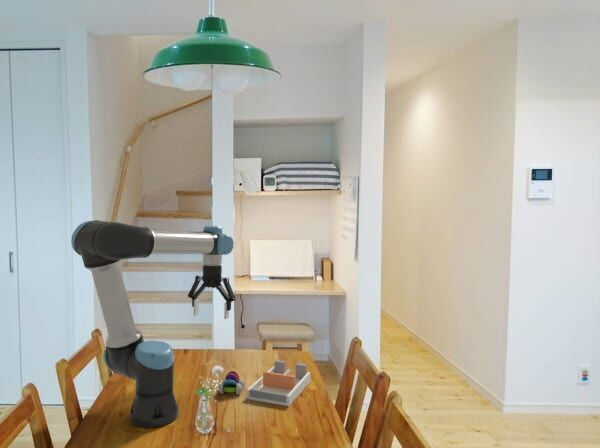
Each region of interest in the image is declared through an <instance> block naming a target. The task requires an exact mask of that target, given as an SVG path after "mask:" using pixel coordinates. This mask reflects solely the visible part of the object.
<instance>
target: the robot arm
mask: <svg viewBox="0 0 600 448" xmlns="http://www.w3.org/2000/svg"><path fill="white" fill-rule="evenodd" d="M234 244H235V243H234V239H233V238H232V236H231V235H229V234H225V233H223V227H221V226H219V225H218V226H217V225H205V226H203V230H202V231H169V230H167V231H166V230H165V231H163V230H152V229H151V228H150V227H148V226H137V225H131V224H127V223H123V222H119V221H118V222H117V221H105V220H97V219H95V220H87V221H84V222H82V223H80V224H78V226H77V227H76V228H75V229H74V231H73V233H72V235H71V246H72V250H73V251H74V252H75V253H77V255H78V256H81V259H82V262H83V266H84V268H85V269H87V270H89V271H90V272H91V275H92V279H93V282H94V283H93V284H94V286H95V290H96V294H97V297H98V300H99V304H100V308H101V312H102V316H103V319H104V323H105V327H106V330H107V335H108V337H107V339H106V341H105V350H104V351H103V362H104V365H105V366H106V368H108V369H109V370H110V371H112V372H113V373H115V374H117V375H121V376H122V377H124V378H128V379H131V380H133V381H135V396H134V399H133V402H132V405H131V408H130V411H129V422H130V423H131V424H132V425H133V426H136V427H140V428H157V427H161V426H166V425H168V424H170V423H172V422H174V421H175V420H176V419H177V418H178V417H179V414H180V413H179V411H180V410H179V404H178V403H177V398H176V396H175V392H174V372H175V371H174V366H175V364H174V363H175V357H174V349H173V347H172V346H171V345H170V344H169V343H167V342H165V341H162V340H147V341H145V340H144V336H143V332H142V331H141V330H140V329H138V328H136V324H135V321H134V317H133V313H132V309H131V304H130V301H129V297H128V293H127V289H126V286H125V281H124V278H123V277H124V276H123V273H122V269H121V265H120V263H121V262H122V260H131V259H143V258H144V259H145V258H149V257H151V255H202V264H203V265H202V275H201V274H198V275H197V274H196V275H195V276H194V282H193V284H192V286H191V287H190V290H189V292H188V294H187V297H188V298H190V299H191V307H192V308H193V316H194V317H196V316H198V315H199V310H200V309H199V308H200V306H199V305H200V299H199V296H200V295H201V294H202V293H203V291H204V290H205V289H206V288H208V289H209V288H212V289H216V290H218V292H219V293H220V294H221V297H222V298H223V299H224V300H225V302H224V307H223V310H224V315H223V318H224V320H227V319H229V318H230V311H231V310H232V303H233V302H235V301H236V300H237V299H236V296H235V293H234V291H233V289H232V285H231V284H230V278H229V277H228V276H226V277H222V272H223V271H222V270H223V268H222V267H223V266H222V263H223V255H224V256H226V255H229V254H231V252H233V249H234ZM201 281H202V282H203V283H202V284H201V285H200V283H201ZM221 282H222V283H223V284H222V283H221ZM199 285H200V287H199V288H198V286H199Z"/></svg>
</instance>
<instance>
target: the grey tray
mask: <svg viewBox="0 0 600 448" xmlns="http://www.w3.org/2000/svg"><path fill="white" fill-rule="evenodd" d="M286 363H287V362H286V360H285V361H284V360H278V359H276V360H275V361H274V366H271V368H270V369H268V370H267V371H266V372H272V373H279V374H284V373H285V372H286V370H287V369H286V366H287V364H286ZM295 376H296V386H295V387H294V388H293V389H292V390H288V389H281V388H275V387H269V386H263V375H262V376H261V377H260V378H258V379H257V380H256V381H255V382H253V384H251V385H250V386H249V387H248V388H246V400H251V401H255V402H256V401H257V402H263V403H267V404H274V405H279V406H285V407H290V406H291V405H292V403H294V401H295V400H296V399H297V398H298V396H300V394H301V393H302V391H304V389H305V388H306V387H307V386H308V385H309V383H310V382H311V372H310V371H308V364H306V363H299V362H297V363H296V364H295Z"/></svg>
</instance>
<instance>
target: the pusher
mask: <svg viewBox="0 0 600 448" xmlns="http://www.w3.org/2000/svg"><path fill="white" fill-rule="evenodd" d="M290 372H291V369H290V368H288V369H286V370H285V373H284V374H279V373H272V372H267V371H265V370H264V371H263V372H262V376H263V386H269V387H275V388H281V389H288V390H292V389H293V388H294V387H295V386H296V375H293V374H292V375H290Z"/></svg>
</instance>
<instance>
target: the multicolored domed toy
mask: <svg viewBox="0 0 600 448" xmlns="http://www.w3.org/2000/svg"><path fill="white" fill-rule="evenodd" d="M245 384H246V383H245V381H244V380H243V379H242V378H240V376H239V374H238V372H237V371H235V370H231V371H229V372H228V373H227V375H225V378H223V379H222V381H221V383H220V384H219V385H218V392H219V393H220V394H221V395H224V394H225V392H226V393H234V392H235V394H236V395H237V396H238V395H240V394H242V392H243V389H244V388H245V386H246V385H245Z"/></svg>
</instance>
